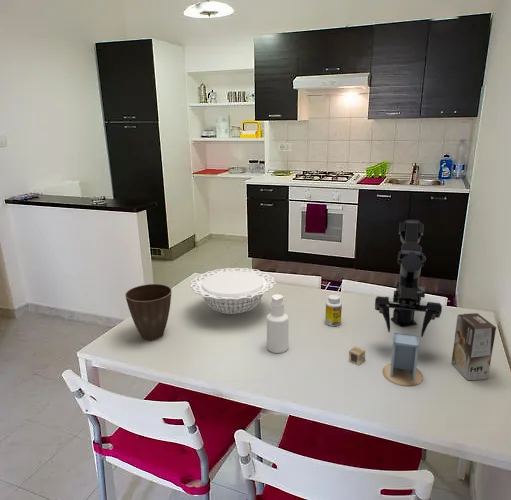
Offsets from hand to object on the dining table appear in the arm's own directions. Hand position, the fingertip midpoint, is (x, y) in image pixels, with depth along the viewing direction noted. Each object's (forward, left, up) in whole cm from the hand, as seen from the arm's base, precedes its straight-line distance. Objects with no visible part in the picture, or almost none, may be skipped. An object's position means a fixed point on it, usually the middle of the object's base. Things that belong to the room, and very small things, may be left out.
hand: (405, 334), depth 124 cm
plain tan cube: (+13, -5, -9) cm, 16 cm away
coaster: (+4, +6, -9) cm, 12 cm away
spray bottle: (+32, -20, -9) cm, 39 cm away
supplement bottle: (+7, -29, -9) cm, 32 cm away
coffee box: (-15, +11, -9) cm, 20 cm away
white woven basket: (+38, -50, -9) cm, 64 cm away
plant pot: (+69, -43, -9) cm, 82 cm away
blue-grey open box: (+5, +6, -9) cm, 11 cm away
